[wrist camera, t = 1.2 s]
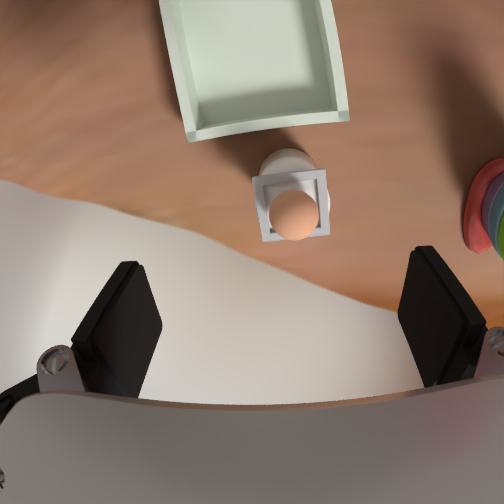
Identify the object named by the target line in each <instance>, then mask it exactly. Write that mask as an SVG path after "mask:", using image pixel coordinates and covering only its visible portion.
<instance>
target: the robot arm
mask: <svg viewBox="0 0 504 504" xmlns="http://www.w3.org/2000/svg"><path fill="white" fill-rule="evenodd" d="M398 319H399V322H400V324H401V327H402V329H403V332H404V334H405V337H406V339H407V341H408V344H409V347H410V349H411V352H412V354H413V357H414V360H415V362H416V365H417V368H418V370H419V373H420V376H421V379H422V381H423V384H424V387H425V388H422V389H416V390H410V391H405V392H399V393H393V394H387V395H380V396H373V397H366V398H357V399H348V400H339V401H328V402H315V403H300V404H275V405H224V404H198V403H182V402H169V401H158V400H149V399H139V398H138V396H139V393H140V390H141V387H142V384H143V382H144V379H145V376H146V373H147V370H148V367H149V364H150V362H151V358H152V356H153V353H154V350H155V348H156V345H157V342H158V339H159V336H160V334H161V331H162V320H161V317H160V315H159V312H158V309H157V306H156V303H155V300H154V297H153V294H152V291H151V288H150V285H149V282H148V280H147V276H146V273H145V270H144V267H143V266H142V265H139V263H138V262H137V261H125V262H121V263H120V264H119V265H118V267H117V268H116V270H115V271H114V273H113V274H112V276H111V277H110V279H109V280H108V281H107V283H106V284H105V286H104V287H103V289H102V290H101V292H100V293H99V295H98V297H97V298H96V300H95V301H94V303H93V304H92V306H91V307H90V309H89V311H88V312H87V314H86V315H85V317H84V318H83V320H82V322H81V323H80V325H79V327H78V328H77V330H76V332H75V333H74V335H73V337H72V338H71V341H72V343H73V344H72V346H71V348H69V347H68V346H65V345H57V346H54V347H51V348H50V349H48V350H46V351H45V352H44V353H43V354H42V355H41V357H40V358H39V360H38V362H37V374H35V375H33V376H32V377H30V378H28V379H26V380H24V381H22V382H20V383H19V384H17V385H15V386H13V387H11V388H9V389H7V390H5V391H4V392H2V393H1V394H0V504H504V327H493V328H490V329H489V330H488V329H487V327H486V326H485V324H486V320H485V318H484V317H483V315H482V314H481V312H480V311H479V309H478V308H477V306H476V305H475V303H474V302H473V300H472V299H471V297H470V296H469V294H468V293H467V292H466V290H465V289H464V287H463V286H462V284H461V283H460V282H459V280H458V279H457V278H456V276H455V275H454V273H453V272H452V271H451V269H450V268H449V267H448V265H447V264H446V263H445V261H444V260H443V259H442V258H441V256H440V255H439V254H438V252H437V251H436V250H435V249H434V247H433V246H417V247H416V248H415V250H414V251H411V253H410V258H409V263H408V268H407V273H406V278H405V282H404V287H403V291H402V296H401V300H400V304H399V308H398Z"/></svg>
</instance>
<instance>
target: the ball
mask: <svg viewBox="0 0 504 504" xmlns="http://www.w3.org/2000/svg"><path fill="white" fill-rule="evenodd" d="M269 220H270V223H271V226H272V228H273V229H274V231H275V232H276V233H277V234H278V235H280V236H281V237H283V238H285V239H289V240H300V239H303V238H305V237H307V236H309V235H310V234H311V233H312V232H313V231H314V230H315V228H316V226H317V224H318V220H319V210H318V207H317V204H316V202H315V201H314V199H313V198H312V197H311V196H309V195H308V194H307V193H305V192H302V191H299V190H289V191H285V192H283V193H281V194H279V195H278V196H277V197H276V198H275V199H274V201H273V202H272V204H271V206H270V210H269Z"/></svg>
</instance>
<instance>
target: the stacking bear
mask: <svg viewBox="0 0 504 504" xmlns="http://www.w3.org/2000/svg"><path fill="white" fill-rule="evenodd" d="M463 230H464V239H465V244H466V246H467V247H468V248H469V249H470V250H472V251H474V252H476V253H481V252H483V251H486V250H488V249H489V248H490V247H491V246H494V248H495V250H496V251H497V253H498V254H499V256H500V257H501V258H502V259H503V261H504V158H498V159H495V160H492V161H490V162H489V163H487V164H486V165H485V166H484V167H483V168H482V169H481V170H480V171H479V172H478V174H477V175H476V177H475V178H474V181H473V183H472V185H471V188H470V191H469V194H468V197H467V201H466V206H465V212H464V222H463Z"/></svg>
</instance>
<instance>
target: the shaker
mask: <svg viewBox="0 0 504 504" xmlns="http://www.w3.org/2000/svg"><path fill="white" fill-rule="evenodd" d="M252 182H253V188H254V193H255V211H256V215H257V217H258V219H259V221H260V227H261V233H262V239H263V242H268V241H277V240H286V239H285V238H283V237H281V236H280V235H278V234H277V233H276V232H275V231H274V229H273V228H272V226H271V223H270V220H269V210H270V206H271V204H272V202H273V201H274V199H275V198H276V197H277V196H278V195H279V194H281V193H283V192H285V191H289V190H299V191H302V192H305V193H307V194H308V195H309V196H311V197H312V198H313V199H314V201H315V202H316V204H317V207H318V210H319V220H318V224H317V226H316V228H315V230H314V231H313V232H312V233H311V234H310V235H309V236H307V237H313V236H322V235H330V225H329V210H330V197H329V193H328V191H327V183H326V172H325V168H320V169H317V167H316V165H315V163H314V161H313V160H312V159H311V157H310V156H308V155H307V154H306V153H304V152H302V151H300V150H297V149H292V148H285V149H280V150H277V151H275V152H273V153H271V154H270V155H269V156H268V157H267V158H266V159H265V160H264V161H263V163H262V165H261V167H260V171H259V176H253V177H252Z"/></svg>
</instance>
